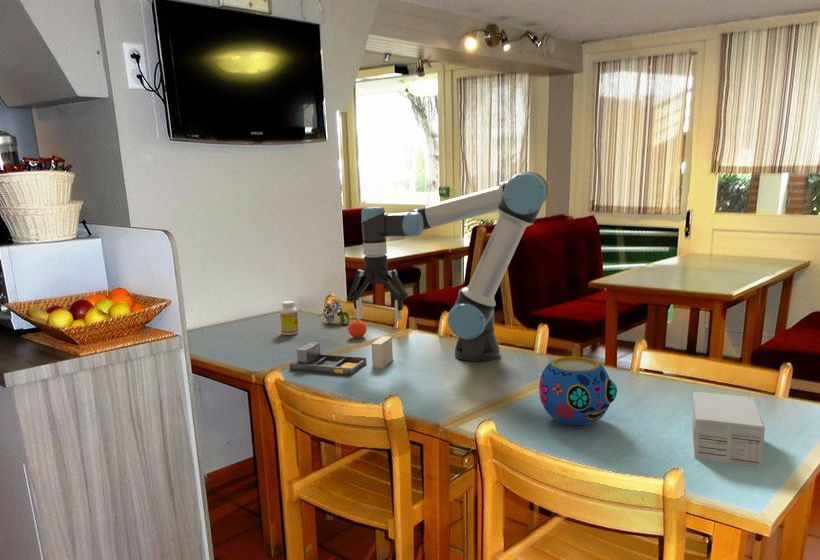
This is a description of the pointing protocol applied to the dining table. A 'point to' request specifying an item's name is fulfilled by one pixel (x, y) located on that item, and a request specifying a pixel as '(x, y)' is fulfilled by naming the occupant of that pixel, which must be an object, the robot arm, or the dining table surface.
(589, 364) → the ceramic pot
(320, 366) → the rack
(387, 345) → the cream rectangular block
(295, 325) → the supplement bottle
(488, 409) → the dining table surface
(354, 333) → the clementine
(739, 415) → the supplement box
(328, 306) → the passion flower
